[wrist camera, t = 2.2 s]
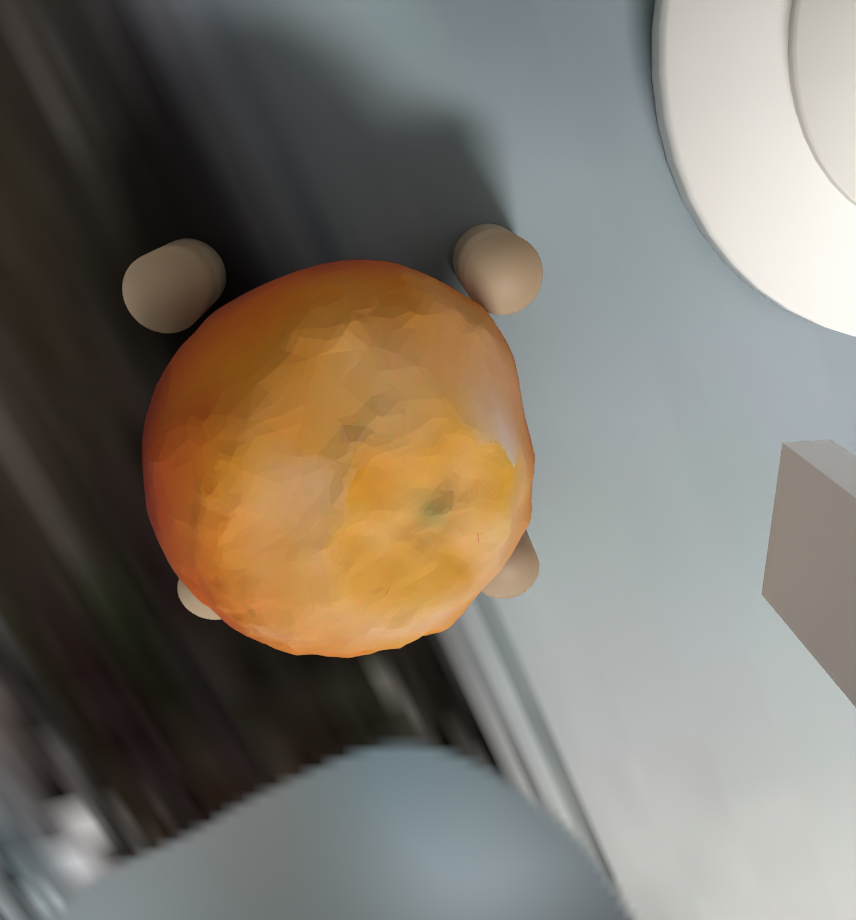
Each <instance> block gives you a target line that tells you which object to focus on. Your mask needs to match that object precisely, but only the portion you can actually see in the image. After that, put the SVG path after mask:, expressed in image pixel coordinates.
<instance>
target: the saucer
mask: <svg viewBox="0 0 856 920" xmlns="http://www.w3.org/2000/svg"><path fill="white" fill-rule="evenodd" d="M652 83H653V91H654V99H655V108H656V116H657V123H658V127H659V131H660V135H661V139H662V143H663V147H664V151H665V155H666V159H667V163H668V166H669V168H670V171H671V173H672V176H673V178H674V181H675V183H676V186H677V188H678V191H679V193H680V196H681V198H682V201H683V202H684V204H685V206H686V208H687V210H688V211H689V213H690V215H691V217H692V218H693V220H694V222H695V224H696V225H697V227H698V229H699V231H700V232H701V234H702V235H703V237H704V238H705V239H706V240H707V242H708V243H709V244H710V246H711V247H712V248H713V249H714V251H715V252H716V253H717V254H718V256H719V257H720V258H721V260H722V261H723V262H724V263H725V264H726V265H727V266H728V267H729V268H730V269H731V270H732V271H733V272H734V273H736V274H737V275H738V276H739V277H740V278H741V279H742V280H743V281H744V282H745V283H746V284H747V285H748V286H749V287H751V288H752V289H754V290H755V291H757V292H758V293H760V294H761V295H763V296H764V297H765V298H767V299H768V300H770V301H771V302H773V303H774V304H776V305H777V306H779V307H781V308H783V309H785V310H788V311H790V312H792V313H794V314H796V315H798V316H800V317H802V318H804V319H806V320H809V321H811V322H814V323H816V324H819V325H821V326H824V327H826V328H829V329H832V330H835V331H839V332H842V333H845V334H848V335H852V336H855V337H856V0H655V6H654V14H653V23H652Z"/></svg>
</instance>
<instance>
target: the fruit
mask: <svg viewBox="0 0 856 920" xmlns="http://www.w3.org/2000/svg"><path fill="white" fill-rule="evenodd" d="M534 461H535V457H534V451H533V447H532V443H531V439H530V435H529V431H528V427H527V423H526V420H525V415H524V410H523V404H522V398H521V392H520V385H519V379H518V374H517V369H516V365H515V361H514V357H513V355H512V352H511V350H510V348H509V346H508V344H507V342H506V340H505V338H504V337H503V335H502V333H501V332H500V330H499V329H498V327H497V326H496V325H495V323H494V321H493V319H492V318H491V317H490V315H489V314H488V312H487V311H486V310H485V309H484V308H483V307H482V306H481V305H479V304H478V303H476V302H474V301H473V300H471V299H470V298H468V297H466V296H465V295H463V294H461V293H460V292H458V291H457V290H455V289H453V288H452V287H450V286H448V285H447V284H445V283H443V282H441V281H439V280H437V279H435V278H433V277H431V276H429V275H426V274H424V273H421V272H419V271H416V270H414V269H411V268H408V267H406V266H403V265H400V264H397V263H393V262H388V261H379V260H363V259H355V260H340V261H334V262H329V263H323V264H318V265H315V266H312V267H308V268H305V269H302V270H298V271H295V272H292V273H290V274H287V275H285V276H282V277H280V278H277V279H275V280H272V281H270V282H268V283H265V284H263V285H261V286H259V287H257V288H255V289H253V290H251V291H248V292H246V293H245V294H243V295H241V296H239V297H238V298H236V299H234V300H233V301H231V302H229V303H227V304H226V305H224V306H222V307H221V308H219V309H218V310H216V311H215V312H214V313H212V314H211V315H210V316H209V317H208V318H207V319H206V320H205V321H204V322H203V323H202V324H201V326H200V327H199V328H198V329H197V330H196V331H195V332H194V333H193V334H192V335H191V336H190V337H189V338H188V339H187V340H186V341H185V342H184V343H183V344H182V345H181V347H180V348H179V349H178V350H177V352H176V353H175V355H174V356H173V358H172V360H171V361H170V363H169V364H168V366H167V367H166V369H165V371H164V372H163V374H162V376H161V378H160V379H159V381H158V383H157V385H156V388H155V391H154V393H153V396H152V399H151V402H150V405H149V408H148V412H147V415H146V419H145V425H144V432H143V439H142V466H143V479H144V489H145V498H146V508H147V513H148V516H149V519H150V522H151V524H152V527H153V530H154V533H155V535H156V537H157V539H158V541H159V544H160V546H161V548H162V550H163V552H164V554H165V556H166V558H167V560H168V562H169V564H170V565H171V567H172V568H173V570H174V572H175V573H176V574H177V576H178V577H179V579H180V580H181V581H182V582H183V583H184V585H185V586H186V587H187V588H188V589H189V590H190V592H191V593H192V594H193V595H194V596H195V597H196V598H197V599H198V600H199V601H200V602H201V603H203V604H204V605H206V606H208V607H209V608H210V609H211V610H213V611H214V612H215V613H216V614H217V615H218V616H219V617H220V618H221V619H222V620H223V621H225V622H226V623H227V624H228V625H229V626H230V627H232V628H233V629H235V630H237V631H238V632H240V633H242V634H244V635H246V636H248V637H250V638H252V639H255V640H257V641H259V642H261V643H265V644H267V645H269V646H271V647H273V648H275V649H278V650H281V651H284V652H287V653H291V654H294V655H306V654H317V655H322V656H327V657H330V656H333V657H343V658H350V657H355V656H359V655H367V654H371V653H374V652H376V651H379V650H385V649H396V648H401V647H403V646H404V645H406V644H408V643H410V642H413V641H415V640H417V639H418V638H420V637H421V636H425V635H429V634H433V633H439V632H442V631H444V630H446V629H447V628H449V627H451V626H452V625H453V623H454V622H455V621H456V620H457V619H458V618H459V617H460V616H461V615H462V614H463V613H464V612H465V610H466V609H467V607H468V606H469V605H470V603H471V602H472V601H473V600H474V599H475V598H476V597H477V595H478V594H479V593H480V592H481V591H482V589H483V588H484V587H485V586H486V585H487V584H488V583H489V582H490V581H491V580H492V579H493V578H494V577H495V576H496V575H497V574H498V573H499V572H500V571H501V570H502V568H503V567H504V565H505V563H506V561H507V560H508V559H509V558H510V556H511V555H512V553H513V551H514V549H515V548H516V546H517V544H518V542H519V540H520V538H521V536H522V535H523V533H524V531H525V530H526V528H527V527H528V525H529V523H530V519H531V512H532V505H531V494H532V480H533V473H534Z"/></svg>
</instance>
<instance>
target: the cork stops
mask: <svg viewBox="0 0 856 920" xmlns="http://www.w3.org/2000/svg"><path fill="white" fill-rule="evenodd" d="M452 262H453V268H454V272H455V274H456V276H457V278H458V280H459V281H460V283H461V284H462V286H463V287H464V289H465V290H466V292H467V293H468V295H469V296H470V298H471V299H472V300H473V301H474V302H476V303H478V304H479V305H481V306H482V307H483V308H484V309H485V310H486V311H487V312H489V313H492V314H498V315H506V314H511V313H515V312H517V311H519V310H521V309H523V308H524V307H526V306H527V305H528V304H529V303H530V302H531V301H532V300H533V299H534V298H535V296H536V295H537V293H538V291H539V289H540V286H541V283H542V277H543V268H542V263H541V260H540V257H539V255H538V253H537V252H536V250H535V249H534V247H533V246H532V245H531V244H530V243H528V242H527V241H526V240H524V239H522V238H521V237H519V236H517V235H516V234H514V233H512V232H511V231H509V230H507V229H505V228H504V227H502V226H500V225H496V224H491V223H485V224H479V225H476V226H474V227H472V228H470V229H468V230H467V231H466V232H465V233H464V234H463V235H462V236H461V237H460V238H459V240H458V241H457V243H456V245H455V248H454V251H453V258H452ZM225 285H226V270H225V266H224V264H223V261H222V259H221V258H220V256H219V255H218V254H217V252H216V251H215V250H214V249H213V248H212V247H210V246H209V245H207V244H206V243H204V242H202V241H199V240H196V239H188V238H185V239H179V240H175V241H173V242H171V243H168V244H166V245H164V246H162V247H160V248H158V249H156V250H154V251H152V252H149V253H147V254H145V255H143V256H141V257H139V258H138V259H136V260H135V261H134V262H133V263H132V264H131V265H130V266H129V268H128V269H127V271H126V273H125V276H124V279H123V284H122V292H123V298H124V301H125V304H126V306H127V308H128V310H129V312H130V313H131V315H132V316H133V317H134V318H135V319H136V320H137V321H138V322H139V323H140V324H142V325H143V326H145V327H146V328H148V329H150V330H153V331H156V332H160V333H176V332H180V331H183V330H185V329H187V328H189V327H190V326H191V325H193V324H194V323H195V322H196V321H197V320H198V319H199V318H200V317H201V316H202V315H203V314H204V313H205V312H206V311H207V310H208V309H209V308H210V307H211V306H212V305H213V304H214V303H215V302H216V301H217V300H218V299H219V298H220V296H221V295H222V293H223V291H224V288H225ZM538 572H539V561H538V558H537V555H536V553H535V550H534V548H533V545H532V543H531V540H530V538H529V535H528V533H527V531H526V530H525V531H524V533H523V535H522V536H521V538H520V540H519V542H518V544H517V546H516V548H515V549H514V551H513V553H512V555H511V556H510V558H509V559H508V560H507V561H506V563H505V565H504V567H503V568H502V570H501V571H500V572H499V573H498V574H497V575H496V576H495V577H494V578H493V579H492V580H491V581H490V582H489V583H488V584H487V585H486V586H485V587H484V588H483V589H482V592H483V593H485V594H486V595H488V596H491V597H494V598H511V597H515V596H518V595H520V594H522V593H523V592H525V591H526V590H528V589H529V588H530V587H531V586H532V584H533V583H534V582H535V580H536V578H537V575H538ZM178 594H179V597H180V600H181V601H182V603H183V605H184V606H185V607H186V608H187V609H188V610H189V611H191V612H192V613H193V614H195V615H197V616H199V617H202V618H206V619H213V620H217V619H221V618H220V617H219V616H218V615H217V614H216V613H215V612H214V611H213V610H211V609H210V608H209V607H208V606H206V605H204V604H203V603H201V602H200V601H199V600H198V599H197V598H196V597H195V596H194V595H193V594H192V593H191V592H190V590H189V589H188V588H187V587H186V586H185V585H184V583H183V582H182V581H181V580H180V579H179V581H178Z"/></svg>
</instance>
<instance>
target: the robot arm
mask: <svg viewBox="0 0 856 920" xmlns="http://www.w3.org/2000/svg"><path fill="white" fill-rule="evenodd" d="M762 595H763V596H764V598H765V599H766V600H767V601H768V602H769V604H770V605H771V606H772V607H773V608H774V610H775V611H776V612H777V613H778V614H779V616H780V617H781V618H782V619H783V620H784V622H785V623H786V624H787V625H788V626H789V628H790V629H791V630H792V631H793V632H794V634H795V635H796V636H797V637H798V638H799V640H800V641H801V642H802V643H803V645H804V646H805V647H806V648H807V649H808V651H809V652H810V653H811V654H812V655H813V657H814V658H815V659H816V660H817V661H818V663H819V664H820V665H821V666H822V667H823V669H824V670H825V671H826V672H827V673H828V675H829V676H830V677H831V678H832V679H833V681H834V682H835V683H836V684H837V685H838V687H839V688H840V689H841V690H842V691H843V693H844V694H845V695H846V696H847V697H848V699H849V700H850V701H851V702H852V703H853V705H854V706H855V707H856V456H854V455H853V454H851V453H850V452H848V451H847V450H845V449H844V448H842V447H841V446H839V445H838V444H836V443H835V442H833V441H832V440H818V441H801V442H783V443H782V450H781V457H780V464H779V472H778V479H777V486H776V493H775V501H774V508H773V515H772V522H771V530H770V537H769V544H768V551H767V559H766V566H765V573H764V580H763V588H762Z"/></svg>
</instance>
